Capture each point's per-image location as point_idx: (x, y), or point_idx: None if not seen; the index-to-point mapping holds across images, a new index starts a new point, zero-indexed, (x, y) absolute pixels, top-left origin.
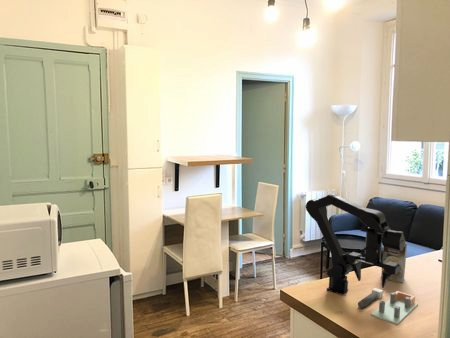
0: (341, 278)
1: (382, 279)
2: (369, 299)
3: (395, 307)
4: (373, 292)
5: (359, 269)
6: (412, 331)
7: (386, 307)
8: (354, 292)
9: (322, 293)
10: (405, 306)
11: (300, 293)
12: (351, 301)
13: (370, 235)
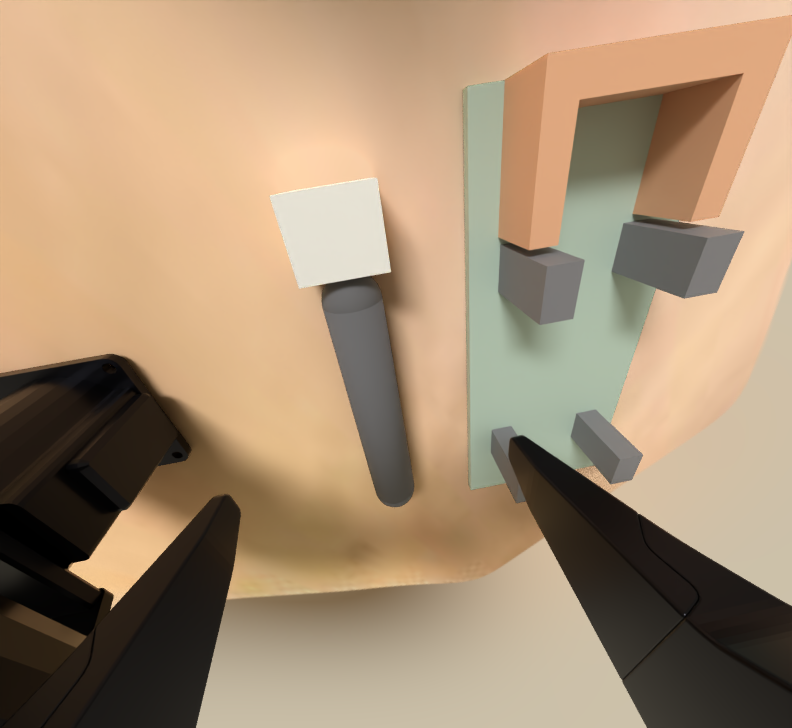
0: (75, 558)
1: (592, 617)
2: (401, 435)
3: (615, 479)
4: (353, 333)
5: (136, 722)
6: (653, 453)
7: (505, 380)
8: (186, 343)
9: (135, 513)
10: (626, 273)
11: (105, 580)
12: (308, 460)
13: None
